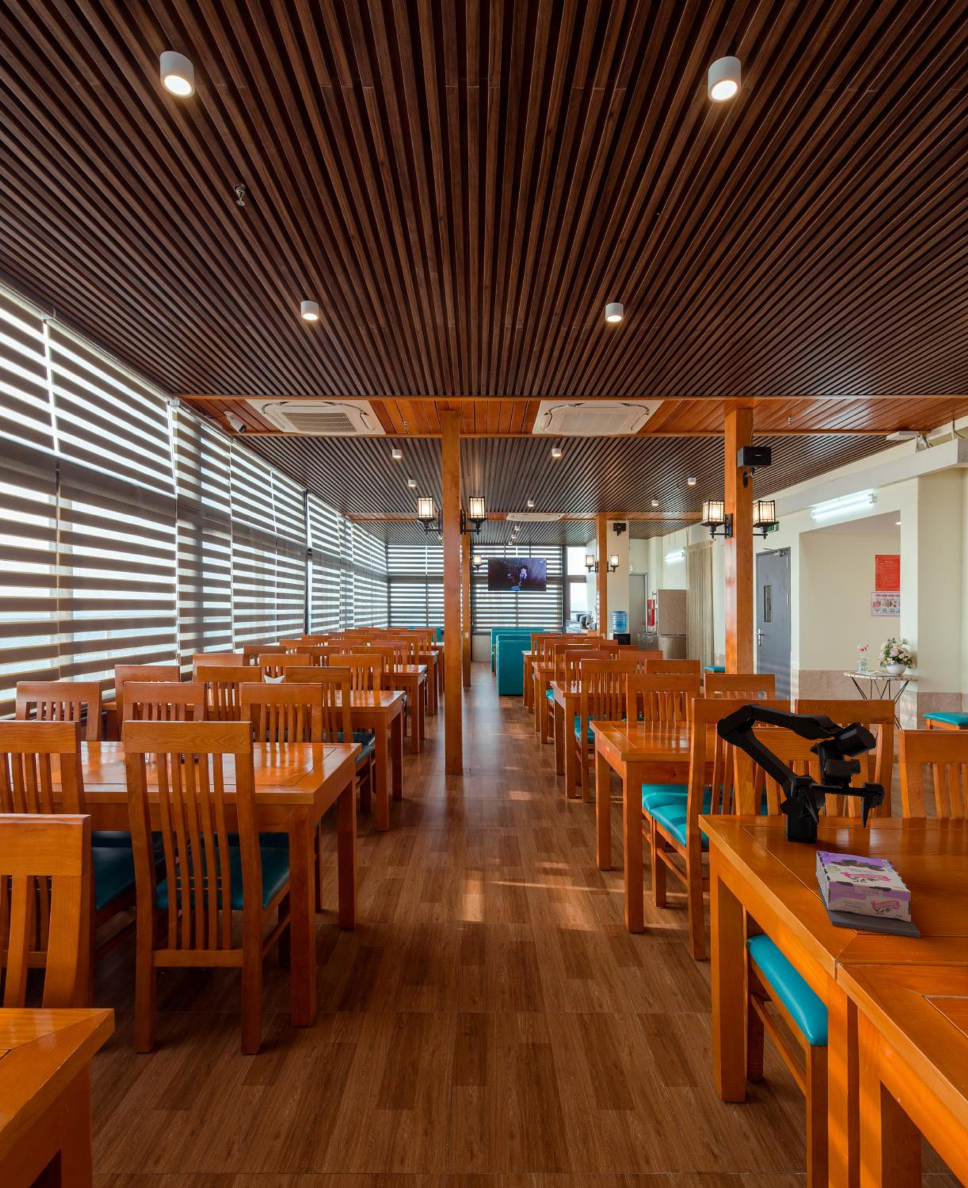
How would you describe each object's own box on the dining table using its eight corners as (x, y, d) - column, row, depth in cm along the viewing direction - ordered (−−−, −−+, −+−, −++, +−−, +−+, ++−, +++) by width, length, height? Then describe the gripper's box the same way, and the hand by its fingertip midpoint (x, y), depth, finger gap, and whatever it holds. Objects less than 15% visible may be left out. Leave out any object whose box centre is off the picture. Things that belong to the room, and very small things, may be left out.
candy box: (890, 858, 137) (912, 891, 122) (889, 887, 137) (912, 924, 122) (815, 849, 142) (828, 879, 126) (815, 877, 142) (827, 910, 126)
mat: (832, 925, 122) (832, 920, 123) (818, 891, 137) (818, 887, 137) (920, 937, 118) (920, 933, 118) (896, 901, 133) (896, 897, 133)
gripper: (792, 741, 157) (798, 802, 146) (883, 747, 151) (896, 811, 141) (788, 767, 164) (793, 826, 154) (874, 774, 158) (886, 836, 148)
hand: (841, 825), depth 149 cm, fingers open, 9 cm apart
